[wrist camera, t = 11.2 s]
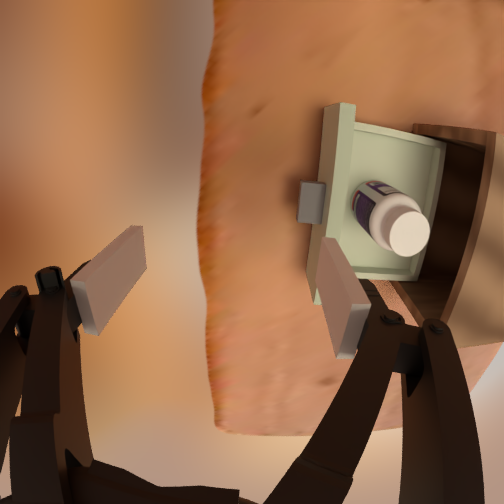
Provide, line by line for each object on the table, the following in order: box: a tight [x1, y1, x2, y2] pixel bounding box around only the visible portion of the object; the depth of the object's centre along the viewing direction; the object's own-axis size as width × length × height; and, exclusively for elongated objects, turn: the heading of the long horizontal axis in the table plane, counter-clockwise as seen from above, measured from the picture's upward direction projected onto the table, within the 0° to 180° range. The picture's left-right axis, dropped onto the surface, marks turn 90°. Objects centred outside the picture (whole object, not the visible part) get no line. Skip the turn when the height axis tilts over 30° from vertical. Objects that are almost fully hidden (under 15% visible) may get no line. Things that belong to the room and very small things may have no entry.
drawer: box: [296, 102, 447, 305], centre depth 29 cm, size 20×16×7 cm
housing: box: [389, 124, 504, 348], centre depth 25 cm, size 20×14×15 cm
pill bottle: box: [351, 180, 430, 257], centre depth 26 cm, size 5×5×10 cm
